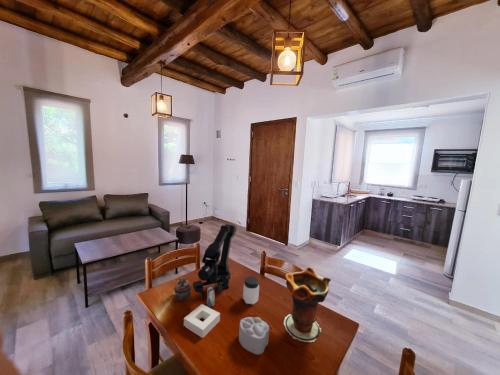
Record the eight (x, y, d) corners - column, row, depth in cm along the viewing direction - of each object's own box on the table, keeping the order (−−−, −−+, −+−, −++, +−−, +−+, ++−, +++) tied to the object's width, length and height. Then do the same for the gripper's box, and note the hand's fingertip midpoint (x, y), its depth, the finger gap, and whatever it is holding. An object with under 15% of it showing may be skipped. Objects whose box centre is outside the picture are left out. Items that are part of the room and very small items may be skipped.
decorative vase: (333, 325, 102) (338, 273, 97) (310, 356, 85) (315, 296, 81) (297, 303, 116) (300, 257, 112) (272, 326, 100) (274, 274, 96)
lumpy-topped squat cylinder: (260, 357, 83) (261, 338, 82) (233, 342, 89) (234, 324, 88) (270, 339, 92) (271, 321, 91) (245, 326, 98) (246, 310, 97)
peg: (212, 300, 114) (213, 286, 113) (215, 305, 111) (215, 290, 110) (205, 303, 112) (206, 287, 111) (208, 307, 109) (208, 292, 108)
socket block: (201, 310, 106) (201, 303, 106) (219, 320, 100) (220, 313, 100) (183, 326, 96) (183, 318, 95) (202, 338, 90) (203, 329, 89)
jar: (241, 296, 120) (242, 277, 118) (253, 293, 123) (255, 274, 122) (246, 306, 112) (248, 285, 110) (260, 303, 115) (261, 283, 113)
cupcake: (192, 299, 114) (193, 283, 113) (174, 303, 110) (174, 286, 109) (190, 289, 123) (191, 274, 122) (173, 292, 119) (173, 276, 118)
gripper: (222, 260, 121) (221, 284, 123) (190, 266, 111) (189, 293, 113) (230, 269, 111) (228, 295, 113) (196, 277, 102) (195, 306, 104)
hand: (210, 297), depth 111 cm, fingers open, 9 cm apart
